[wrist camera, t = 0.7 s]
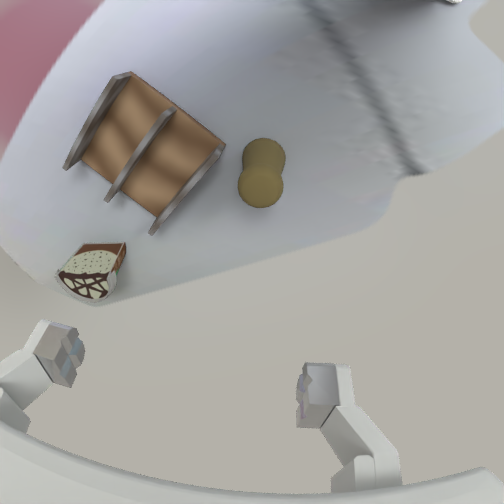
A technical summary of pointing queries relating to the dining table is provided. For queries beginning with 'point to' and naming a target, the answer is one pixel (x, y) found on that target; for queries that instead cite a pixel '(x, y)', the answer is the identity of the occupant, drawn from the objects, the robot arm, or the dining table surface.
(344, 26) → the dining table surface
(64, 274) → the food container
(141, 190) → the slot rack
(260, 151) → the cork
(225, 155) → the dining table surface
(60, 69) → the dining table surface
